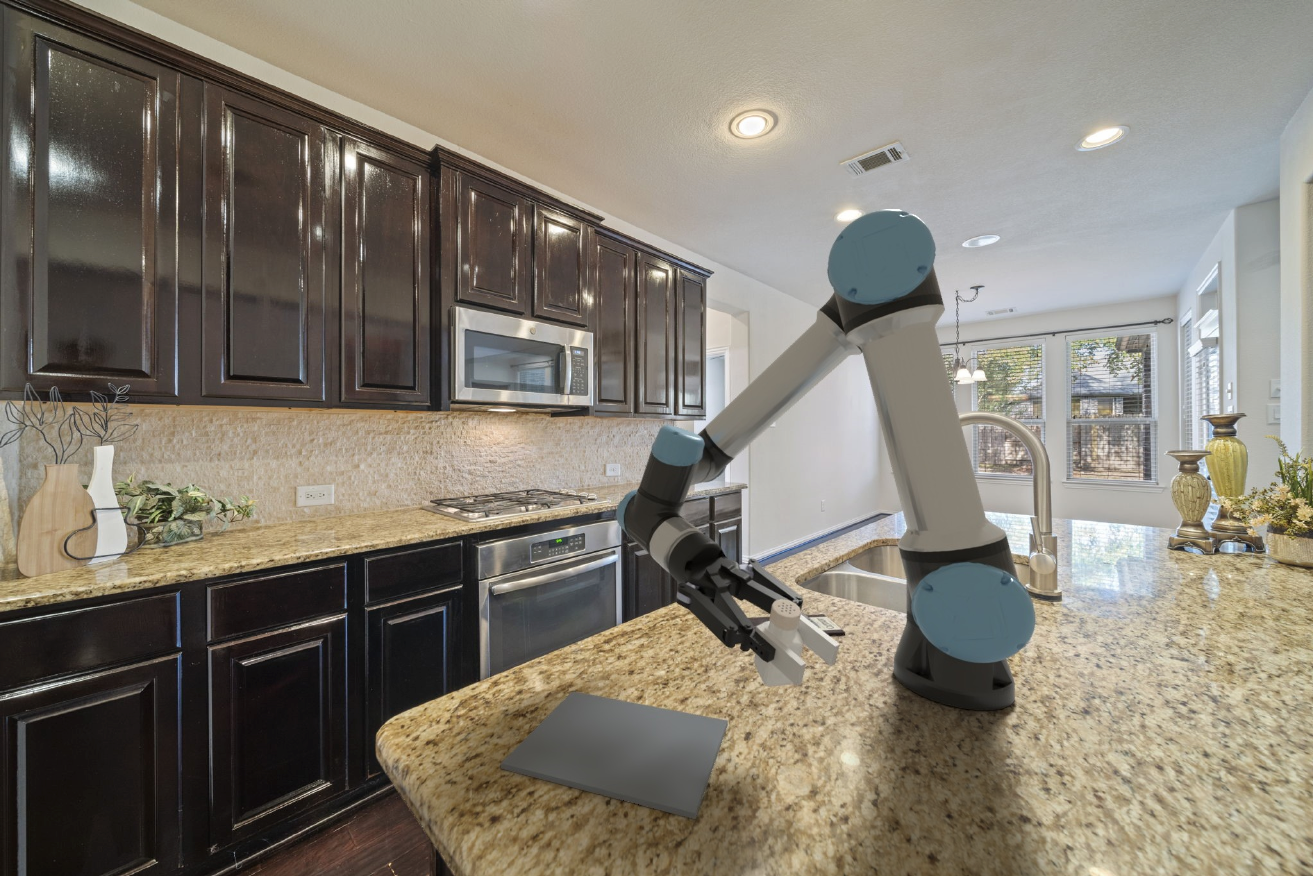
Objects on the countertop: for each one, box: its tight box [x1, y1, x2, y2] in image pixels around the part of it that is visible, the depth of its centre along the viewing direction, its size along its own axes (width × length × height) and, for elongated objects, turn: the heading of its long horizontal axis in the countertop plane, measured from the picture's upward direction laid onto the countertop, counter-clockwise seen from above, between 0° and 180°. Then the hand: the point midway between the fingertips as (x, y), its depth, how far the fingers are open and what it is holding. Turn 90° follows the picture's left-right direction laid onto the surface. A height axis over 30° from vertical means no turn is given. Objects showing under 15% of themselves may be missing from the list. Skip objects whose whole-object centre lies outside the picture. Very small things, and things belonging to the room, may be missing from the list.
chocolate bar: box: [748, 613, 846, 637], centre depth 93 cm, size 9×1×18 cm
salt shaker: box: [753, 599, 804, 688], centre depth 56 cm, size 4×4×10 cm
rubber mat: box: [500, 690, 729, 820], centre depth 58 cm, size 22×16×1 cm
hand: (818, 664), depth 52 cm, fingers closed on salt shaker, 5 cm apart
